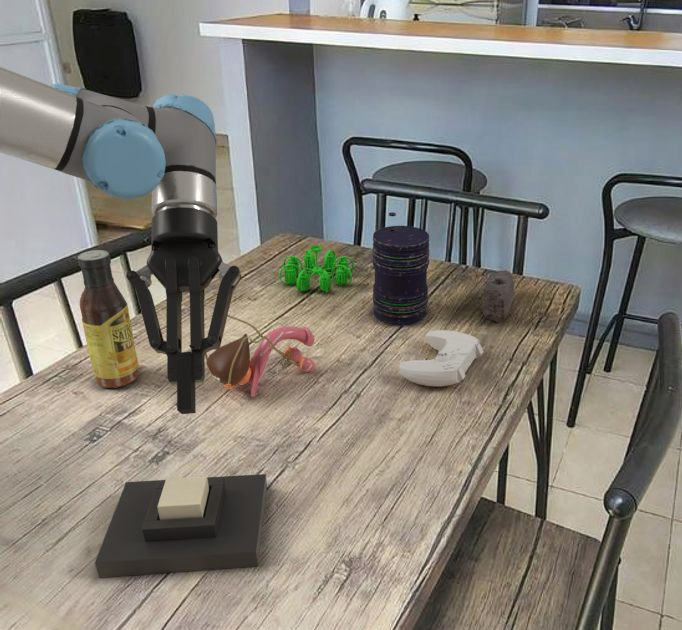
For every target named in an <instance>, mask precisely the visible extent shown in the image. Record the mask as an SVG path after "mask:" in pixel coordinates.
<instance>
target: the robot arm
mask: <svg viewBox="0 0 682 630" xmlns="http://www.w3.org/2000/svg"><path fill="white" fill-rule="evenodd" d="M215 125H216V123H215V117H214V113H213V111H212V109H211V108H210V107H209V105H208V104H207V103H206V102H204V101H203V100H201V99H199V98H197V97H195V96H193V95H190V94H182V95H176V94H175V93H173V94H166V95H163V96H161V97H159V98H158V99H157V100H156V101H155V102H154V103H153V106H147V105H143V104H139V103H134V102H131V101H128V100H124V99H121V98H117V97H113V96H110V95H106V94H102V93H99V92H95V91H92V90H88V89H86V88H85V87H81V86H78V87H76V86H71V85H66V84H62V83H53V84H51V85H49V84H46V83H43V82H40V81H38V80H36V79H33V78H30V77H27V76H25V75H22V74H20V73H17V72H15V71H12V70H10V69H8V68H5V67H2V66H0V154H3V155H4V154H5V155H8V156H11V157H13V158H17V159H19V160H22V161H23V160H24V161H27V162H30V163H33V164H36V165H40V166H43V167H46V168H48V169H51V170H55V171H58V172H61V173H62V174H66V175H69V176H72V177H75V178H78V179H81V180H84V181H87V182H90V184H92V186H93V187H95V188H96V189H98V190H100V191H101V192H103V193H104V194H106V195H108V196H110V197H112V198H116V199H120V200H135V199H139V198H142V197H144V196H146V195H149V194H150V193H151V214H152V216H153V217H152V218H151V238H150V239H151V249H150V253H149V256H148V257H147V258H146V265H144V266H143V267H141V268H139V269H138V270H136V271H135V270H129V271H127V273H126V276H125V277H126V279H127V280H128V281H129V283H130V284H131V286H132V287H133V288H134V290H135V293H136V297H137V301H138V305H139V308H140V312H141V316H142V321H143V324H144V327H145V331H146V335H147V339H148V343H149V346H150V347H151V348H152V349H153V351H154V352H156V353H157V354H162V355H166V358H167V359H166V363H167V364H166V367H167V371H166V377H167V380H168V383H170V384H171V385H176V411H177V412H179V413H180V414H181V415H189V414H190V415H191V414H196V411H197V410H196V409H197V407H196V405H197V404H196V384H198V383H203V382H204V381H205V378H206V374H205V370H206V367H205V358H206V357H205V354H206V353H207V354H208V353H209V352H211V351H216V350H217V349H219V348H220V347H222V342H223V338H224V337H223V336H224V333H225V328H226V324H227V319H228V317H227V316H228V315H229V311H230V307H231V304H232V298H233V293H234V291H235V289H236V288H237V286H238V285H239V283H240V281H242V274H241V271H240V268H239V267H238V266H237V265H229V264H228V263H226V262H224V261H223V258H222V255H221V254H220V252H219V237H218V236H219V233H218V232H219V231H218V220H217V219H216V218H217V216H218V200H217V199H218V198H217V197H218V196H217V176H216V175H217V172H216V171H217V165H216V164H217V136H216V126H215ZM218 273H219V275H218V279H219V281H220V283H219V288H218V290H217V295H216V299H215V303H214V307H213V312H212V315H211V319H210V324H209V329H208V331H207V332H208V333H207V337H206V335H205V334H206V332H205V299H206V298H205V290H206V289H207V288H208V286H209V285H210V284H211V283H212V281H213V280H214V278H215V277H216V276H217V274H218ZM152 276H154V277H155V278H156V280H157V281H158V282H159V283H160V285H162V287H163V288H164V290H165V296H166V313H165V315H166V322H165V323H166V324H165V325H166V330H165V331H166V332H165V334H166V336H165V337H166V339H165V340H164V336H163V333H162V329H161V325H160V320H159V318H158V313H157V310H156V306H155V302H154V298H153V296H152V295H153V294H152V293H151V290H150V289H149V287H151V286H152V285H153V283H152V282H153V281H152ZM187 292H188V293H189V333H190V335H189V336H190V337H189V338H190V339H189V340H190V344H188V345H189V348H190V351H183V348H182V347H183V342H182V341H183V339H182V338H183V337H182V334H183V332H182V331H183V330H182V329H183V328H182V327H183V325H182V324H183V322H182V321H183V319H182V315H183V314H182V304H183V303H182V302H183V294H184V293H187Z"/></svg>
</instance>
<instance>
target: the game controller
mask: <svg viewBox="0 0 682 630" xmlns="http://www.w3.org/2000/svg"><path fill="white" fill-rule="evenodd" d="M424 338H425V339H424V340H425V341H426V343H427V344H428V345H429V346H431V347H432V348H433V349H435V350H437V351H438V352H437V353H438V354H437V355H436V356H435V358H431V359H414V360H404V361H401V362H399V365H398V373H399V374H400V375H401V376H402V378H404V379H405V380H407V381H409V382H411V383H413V384H417V385H421V386H426V387H447V386H451V385H455V384H456V385H457V384H459V383H460V382H461V381H463V380H464V379H465V378H466V372H467V371H468V369H469V368H470V366H471V364H472V363H473V361H474V360H475V359H478V357H480V356H482V355H483V354H484V349H483V347H482V345H481V343H480V340H479V339H478V338H477V337H475V336H473V335H471V334H468V333H464V332H460V331H456V330H447V329H435V330H431V331H429V332H427V333H426V334H425V335H424Z"/></svg>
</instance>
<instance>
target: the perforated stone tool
mask: <svg viewBox="0 0 682 630" xmlns="http://www.w3.org/2000/svg"><path fill="white" fill-rule="evenodd" d="M483 292H484V300H483V301H482V303H481V304H480V308H481V311H482V313H483V317H484V318H486V319H488V320H489V321H495V322H497V323H501V322H504V320H505V319H506V318H507V317H508V314H509V313H510V310H511V306H512V305H513V301H514V294H515V282H514V277H513V275H512V273H511V271H509V270H506V269H503V270H502V269H501V270H499V271H498V272H497V271H496V273H495V274H494V275H492V277H491V278H489V280H488V281H487V283H486V285H485V287H484V288H483Z"/></svg>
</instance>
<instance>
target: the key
mask: <svg viewBox="0 0 682 630" xmlns="http://www.w3.org/2000/svg"><path fill="white" fill-rule="evenodd" d="M207 477H208V476H207V475H205V476H186V477H184V476H183V477H169V478H168V477H167V478H165V480H166V481H165V484H164V487H163V490H162V494H161V497H160V500H159V503H158V506H157V507H158V512H159V517H160V520H172V519H187V518H203V515H204V511H205V506H206V502H207V497H208V493H209V485H208V479H207Z"/></svg>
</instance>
